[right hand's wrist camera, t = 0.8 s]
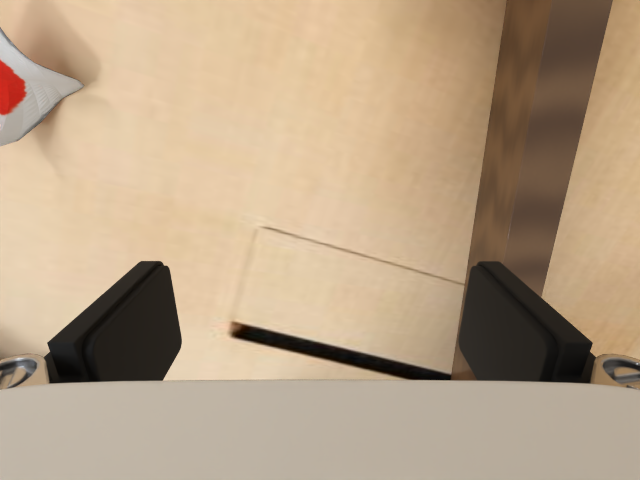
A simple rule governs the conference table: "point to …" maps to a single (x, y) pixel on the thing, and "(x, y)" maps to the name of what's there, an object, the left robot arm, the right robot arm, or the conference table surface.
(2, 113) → the fish
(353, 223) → the conference table surface
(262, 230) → the conference table surface
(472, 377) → the bar
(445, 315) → the conference table surface
